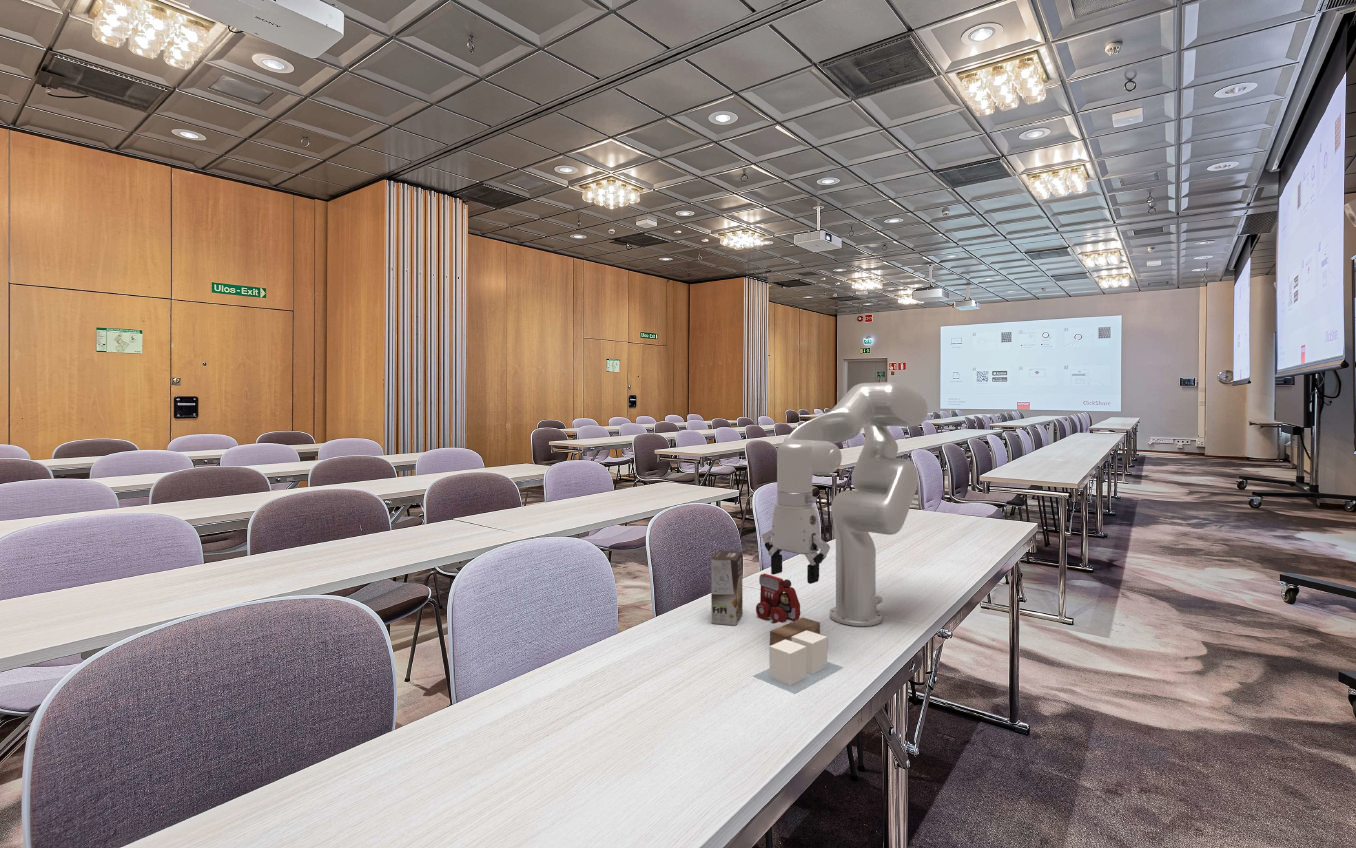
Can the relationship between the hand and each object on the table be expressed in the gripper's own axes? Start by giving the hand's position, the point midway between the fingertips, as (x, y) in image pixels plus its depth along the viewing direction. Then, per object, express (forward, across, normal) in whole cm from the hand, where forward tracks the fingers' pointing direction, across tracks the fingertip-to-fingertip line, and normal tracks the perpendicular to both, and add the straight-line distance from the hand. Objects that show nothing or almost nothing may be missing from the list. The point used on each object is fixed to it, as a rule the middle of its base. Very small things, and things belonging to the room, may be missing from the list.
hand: (794, 577), depth 134 cm
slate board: (+16, -9, +10) cm, 21 cm away
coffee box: (+16, +23, -4) cm, 28 cm away
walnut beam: (+16, 0, 0) cm, 16 cm away
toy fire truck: (+16, +14, -12) cm, 25 cm away
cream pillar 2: (+15, -9, +7) cm, 19 cm away
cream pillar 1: (+15, -9, +14) cm, 22 cm away
